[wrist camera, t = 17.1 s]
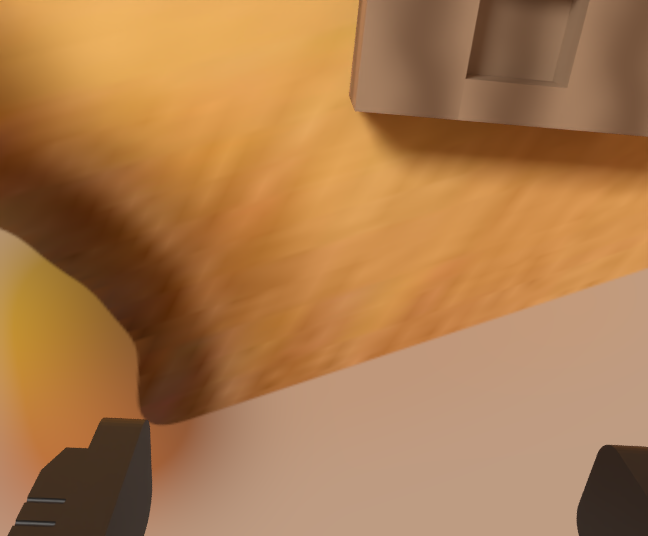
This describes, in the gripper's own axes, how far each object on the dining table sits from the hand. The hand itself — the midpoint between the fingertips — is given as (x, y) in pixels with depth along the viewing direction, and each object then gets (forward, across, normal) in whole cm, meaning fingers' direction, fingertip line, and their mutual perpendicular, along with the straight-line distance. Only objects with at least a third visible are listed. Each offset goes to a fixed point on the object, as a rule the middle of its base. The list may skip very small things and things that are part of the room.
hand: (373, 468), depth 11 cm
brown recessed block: (+30, -10, -6) cm, 32 cm away
